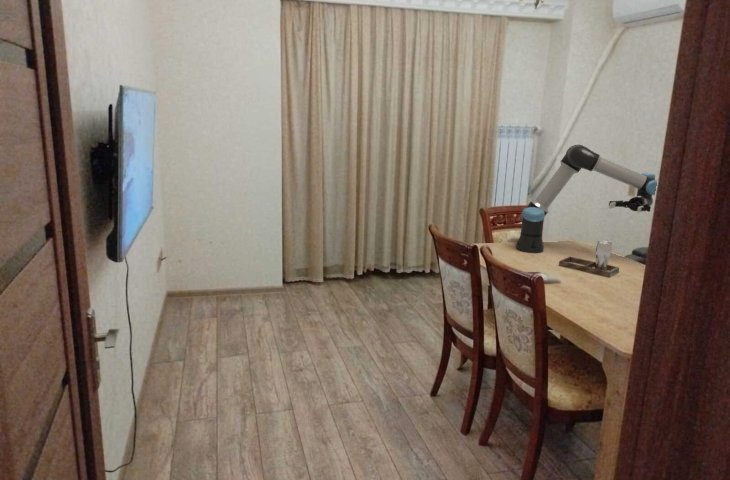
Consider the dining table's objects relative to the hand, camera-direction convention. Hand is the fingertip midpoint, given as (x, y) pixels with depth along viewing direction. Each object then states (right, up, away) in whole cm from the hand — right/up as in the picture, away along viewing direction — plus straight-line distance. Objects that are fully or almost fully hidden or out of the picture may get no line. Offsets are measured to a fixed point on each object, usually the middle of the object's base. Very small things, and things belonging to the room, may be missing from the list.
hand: (624, 207), depth 261 cm
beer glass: (-15, -32, -7) cm, 37 cm away
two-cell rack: (-20, -31, -3) cm, 37 cm away
